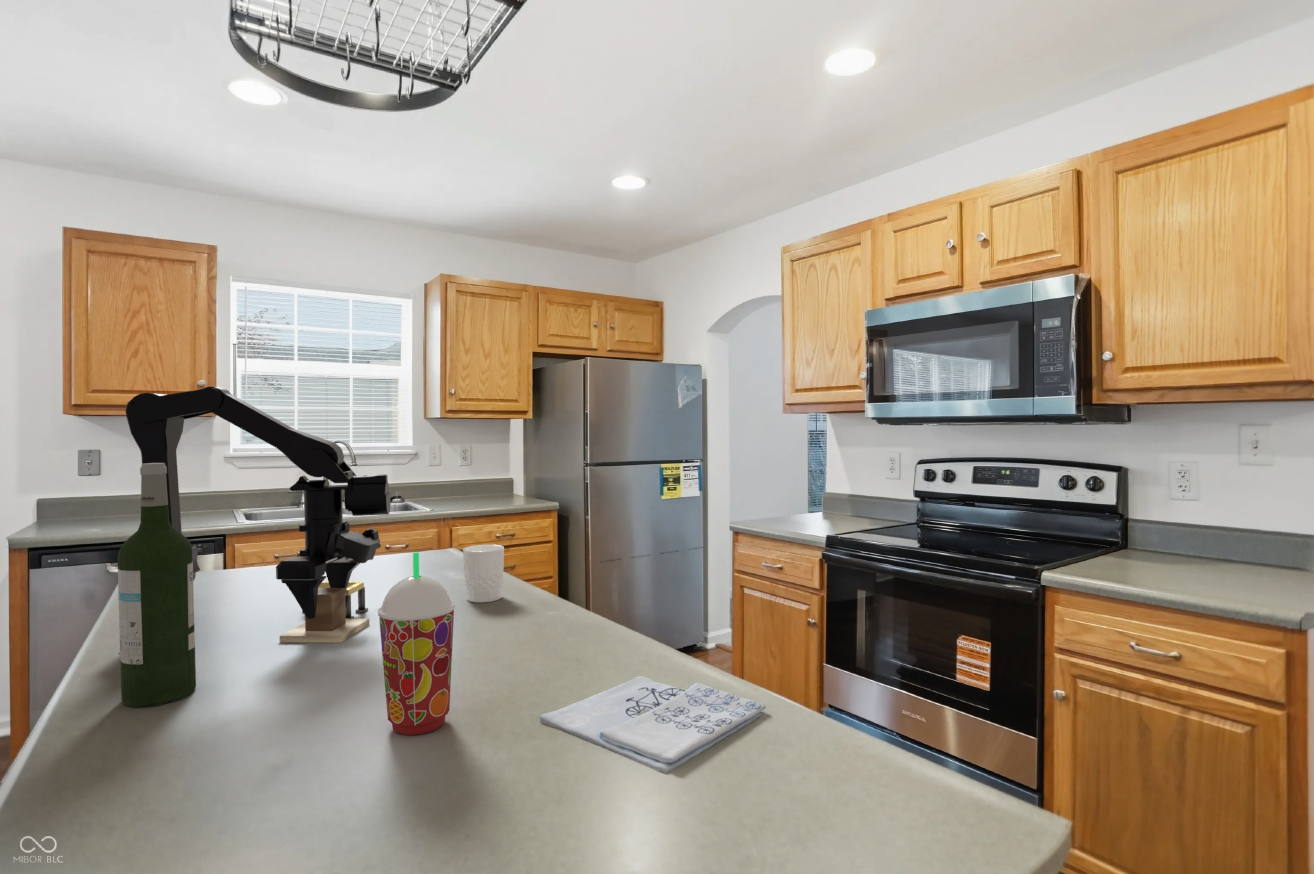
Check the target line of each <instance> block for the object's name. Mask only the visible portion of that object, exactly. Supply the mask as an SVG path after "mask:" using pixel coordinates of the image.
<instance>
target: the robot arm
mask: <svg viewBox="0 0 1314 874" xmlns="http://www.w3.org/2000/svg"><path fill="white" fill-rule="evenodd" d="M209 414H214V415H215V416H218V417H219V418H221V419H223V420H225V421H226V422H228V423H231V424H232V425H233V426H236V427H237V428H239V429H242V431H245V432H246V433H248V434H250V435H252V436H254V437H256V438H258V439H259V440H262V441H263V442H265V443H267V444H269V445H270V446H272V447H274V448H276V449H277V450H279V452H281V453H282V454H283V455H284V456H285V457H286V458H287V459H289V461H290V462H292V463H293V464H294V465H295V466H296V467H298V468H299V469H300V470H302V471H303V472H304V473H305V474H306V475H308V476H309V477H313V478H322V477H324V478H326V479H309V478H308V477H307V476H306V475H301V476H299V477H298V480H297V481H296V482H295V483H294V484H293V485H291V486H290V487H289V490H290V491H291V492H303V502H304V504H303V505H304V506H303V507H304V508H303V509H304V511H303V512H304V513H303V514H304V523H302V524H298V531H299V532H300V533H301V532H304V548H303V549H300V550H299V556H292V557H289V558H285V559H283V560H281V561H279V563H278V564H277V565H276V566H275V579H276V580H281V583H282V584H285V586H287V588H288V589H289V591H290V592H291V594H292V595H293V597H294V599H295V600H296V602H297V603H298V605H299V607H300V608H301V611H302V610H303V612H304V613H303V614H304V617H305V616H306V617H307V618H308V619H313V618H315V614H316V606H317V596H318V587H319V585H320V584H321V583H322V582H323V581H325V580H326V578H327V581H328V582H329V585H330V588H345V593H346V589H347V586H348V582H349V581H350V579H351V576H352V573H353V571H354V570H355V568H357V567H358V566H359V565H361V564H366V563H367V562H368V561H373V560H374V558H375V554H376V552H377V550H378V549H380V548H381V546H382V545H381V543H380V542H381V539H380V537H379V536H380V535H379V530H376V529H374V528H371V527H370V528H367V529H365V530H364V531H363V532H360V531H356V532H355V531H352V530H351V529H350V523H348V520H343V519H344V518H343V514H344V513H343V490H344V508H345V511H348V512H351V515H352V517H358V516H359V517H363V516H364V517H365V516H383V515H385V516H386V515H387V516H388V515H390V511H391V499H392V498H391V491H390V486H389V481H388V479H389V478H388V474H385V473H384V474H377V475H356V473H355V472H354V470H352V469H351V467H350V466H349V465H348V463H346V461H345V460H344V459H345V455H344V452H343V449H342V447H341V446H340V445H338V444H337V443H335V442H333V441H330V440H328V439H324V438H322V437H319V436H317V435H313V434H310V433H307V432H304V431H300V430H298V429H295V428H293V427H291V426H289V425H287V424H286V423H284V422H282V421H281V420H278V419H277V418H275V417H273V416H271V415H270V414H268V413H266V412H265V411H263V410H261V409H259V408H258V407H255V406H254V405H252V404H250V403H249V402H246V401H245V400H243V399H241V398H239V397H237V396H236V395H234V394H233V393H231V392H230V391H229V390H227V388H224V387H221V386H206V387H203V388H200V389H195V390H194V389H193V390H189V391H181V392H176V393H169V394H166V393H165V394H164V393H153V392H143V393H139V394H137V395H135V396H133V397H132V398H131V399H130V400H129V401H127V404H126V406H125V417H126V420H127V421H126V422H127V425H128V427H129V431H130V434H131V436H132V438H133V439H134V441H135V443H136V445H137V447H138V449H139V451H140V453H141V454H140V455H141V465H142V464H146V463H165V466H166V467H167V473H166V483H167V497H168V511H169V521H170V523H171V526H172V528H174V529H175V530H177V531H178V532H179V533H181V534H182V535H183V532H182V517H181V506H180V505H181V504H180V503H181V502H180V489H179V487H180V486H179V474H178V459H177V456H178V455H177V448H178V445H179V443H180V440H181V437H182V435H183V432H184V431H183V430H184V424H185V420H188V419H193V418H198V417H200V416H205V415H209ZM329 481H330V482H332V483H334V485H333V484H330V482H329ZM336 484H339V485H336ZM340 484H341V485H340ZM198 549H199V548H198V547H197V546H192V552H193V583H194V582H195V579H196V575H197V573H198V572H200V571H201V568H200V566H199V563H198V552H199V550H198Z"/></svg>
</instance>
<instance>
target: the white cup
mask: <svg viewBox="0 0 1314 874" xmlns="http://www.w3.org/2000/svg"><path fill="white" fill-rule="evenodd" d="M462 555H463V556H462V557H463V572H464V582H465V583H464V585H465V587H466V588H465V592H466V600H467V602H472V603H490V602H495V601H499V600H501V599H502V597H503V584H504V566H505V564H504V563H505V547H504V546H503V545H500V544H476V545H471V546H470V545H469V546H466V547H463V548H462Z"/></svg>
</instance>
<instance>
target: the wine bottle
mask: <svg viewBox="0 0 1314 874" xmlns="http://www.w3.org/2000/svg"><path fill="white" fill-rule="evenodd" d="M139 472H140V473H139V474H140V476H141V477H140V479H141V480H140V481H141V483H140V484H141V485H140V523H139V527H138V528H137V529H138V530H137V531H135V532H134V533H133V534H132V535H131V536H130V537H128V539H126V540H125V541H124V542H123V544H122V545H121V546H120V547H119V550H118V552H117V559H116V560H117V584H118V585H117V589H118V591H117V592H118V621H119V623H118V624H119V627H118V628H119V651H120V652H119V656H120V657H119V659H120V661H119V662H120V689H121V691H120V693H121V694H120V695H121V702H122V703H123V704H124V705H125V706H127V707H132V708H147V707H155V706H162V705H165V704H169V703H174V702H177V701H179V700H183V699H184V698H186V697H188V696H190V695H191V694H192V693H193V692H194V691H195V690H196V686H197V675H196V673H197V672H196V671H197V669H196V638H195V637H196V635H195V634H196V632H195V600H194V599H195V597H194V596H195V595H194V582H193V552H192V547H193V546H192V544H191V542H190V540H189V539H188V538H187V537H186V536H185V535H184V534H183V533H182V534H181V533H179V532H178V531H177V530H175V529H174V528H172V526H171V523H170V521H169V511H168V497H167V483H166V473H167V467H166V466H165V463H146V464H142V463H141V467H139Z"/></svg>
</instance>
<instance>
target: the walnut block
mask: <svg viewBox="0 0 1314 874" xmlns="http://www.w3.org/2000/svg"><path fill="white" fill-rule="evenodd" d="M304 623H305V631H333V630H335V629H337V628H339V627H340V626H342V625H344V624H345V623H346V612H345V588H318V596H317V606H316V614H315V618H313V619H308V618H307V617H306V616H305V615H304Z"/></svg>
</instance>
